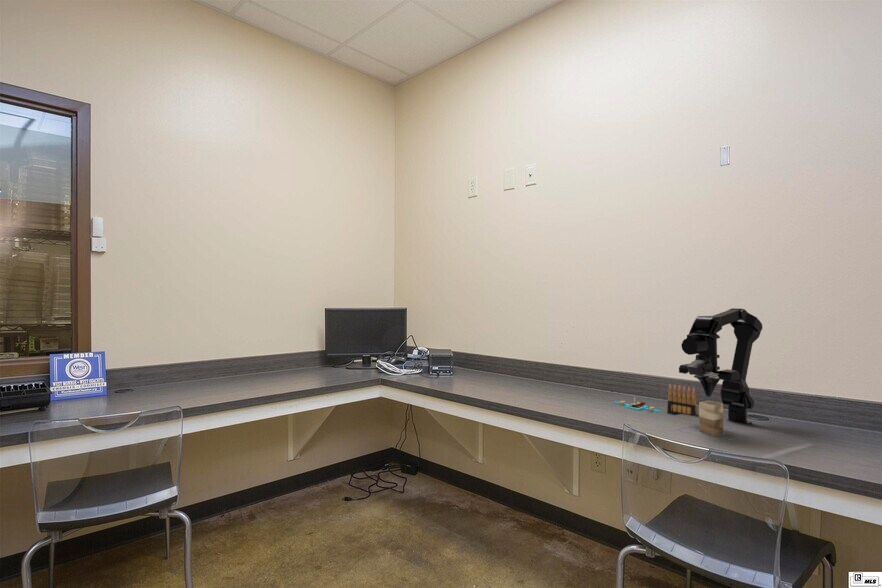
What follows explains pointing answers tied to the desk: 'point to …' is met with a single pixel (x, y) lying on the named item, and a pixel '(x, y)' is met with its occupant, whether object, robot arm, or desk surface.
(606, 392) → the desk surface
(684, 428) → the blueprint board
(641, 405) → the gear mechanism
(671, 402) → the ammunition clip
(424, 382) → the desk surface
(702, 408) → the maple block
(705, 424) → the walnut block
